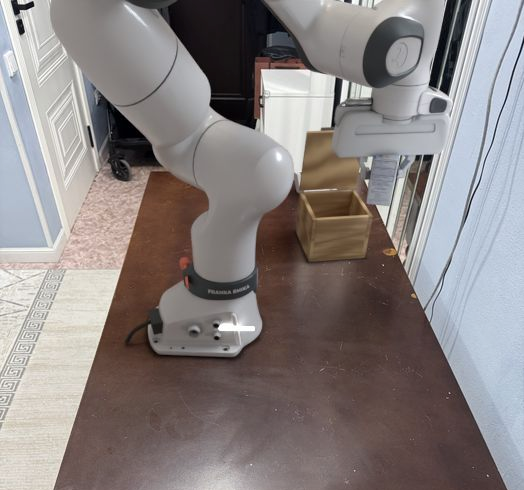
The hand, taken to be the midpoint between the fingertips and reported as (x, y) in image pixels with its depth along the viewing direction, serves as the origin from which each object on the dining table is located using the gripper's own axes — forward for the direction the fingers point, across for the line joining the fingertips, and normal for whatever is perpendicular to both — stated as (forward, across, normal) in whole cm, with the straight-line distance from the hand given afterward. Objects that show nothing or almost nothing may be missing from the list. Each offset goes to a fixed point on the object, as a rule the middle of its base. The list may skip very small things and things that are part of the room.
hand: (381, 177), depth 91 cm
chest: (+25, -2, +18) cm, 31 cm away
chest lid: (+7, -2, +24) cm, 25 cm away
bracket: (+26, 0, +42) cm, 50 cm away
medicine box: (+4, 0, 0) cm, 4 cm away
